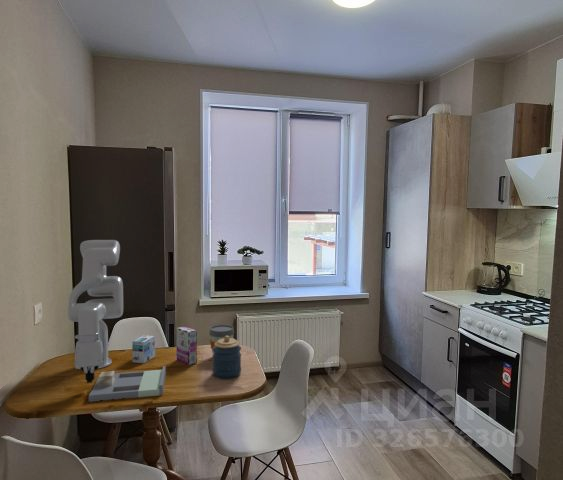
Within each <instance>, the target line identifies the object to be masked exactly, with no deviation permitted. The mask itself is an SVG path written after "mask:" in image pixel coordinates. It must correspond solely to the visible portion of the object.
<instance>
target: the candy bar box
mask: <svg viewBox="0 0 563 480" xmlns="http://www.w3.org/2000/svg"><path fill="white" fill-rule="evenodd" d="M197 330H198V329H197ZM197 330H196V329H194V328H190V327H187V326H180V327H176V361H178V362H180V363H182V364H185V365H187V366H192V365H195V364H198V349H197V348H198V331H197Z"/></svg>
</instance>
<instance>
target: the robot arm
mask: <svg viewBox="0 0 563 480" xmlns="http://www.w3.org/2000/svg"><path fill="white" fill-rule="evenodd" d="M79 250H80V254H81V256H82V268H81V269H82V270H81V272H82V273H81V280H80V282H79V283H78V284H76V285H75V286H74V287H73V289H72V291H71V292H70V294H69V298H68V305H67V306H68V307H67V317H68V320H69V321H70V322H72V323H74V322H77V323H78V334H75V336H74V339H76V340H77V341H76V343H75V344H76V345H75V351H74V368H75V369H76V370H81V371H82V372H83V373H84V374H85V375H84V376H85V381H86V384H89V383H90V384H91V383H93V381H94V380H95V372H96V370H98V369H104V368H105V367H108V366H110V365H111V364H112V362H113V361H112V358H110V357H109V334H108V333H109V332H108V331H109V330H108V325H107V324H106V322H105V321H104V320H107V319H117V318H120V317H122V316H123V314H124V283H123V279H122V278H121V277H120V276H117V275H110V276H109V275H108V276H107V267H111V266H117V265H118V263H119V260H120V252H121V245H120V242H119V241H118V240H116V239H90V240H88V239H87V240H84V241H82V242H81V243H80V246H79ZM84 292H87V294H88V295H89V296H90V297H113V298H95V299H94V298H93V299H89V300H88V301H85V303H84V302H83V303H80V302H79V303H77V301H78V299H79V297H80V296H81V295H83V293H84Z"/></svg>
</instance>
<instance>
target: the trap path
mask: <svg viewBox="0 0 563 480" xmlns="http://www.w3.org/2000/svg"><path fill="white" fill-rule="evenodd" d="M166 367H167V366H166V365H162V369H155V370H154V369H152V370H142V371H141V370H140V371H139V370H138V371H128V372H127V371H126V372H116V373H115V381H114V383H113V385H109V386H99V377H98V378H97V380H96V382H95V383H94V386H93V388H92V389H91V391H90V392H89V395H88V402H99V401H100V400H103V401H113V400H112V399H114V400H121V399H122V398H125V399H133V398H145V397H156V396H163V394H164V386H165V381H166V374H167V373H166V371H167V368H166ZM110 399H111V400H110ZM122 400H123V399H122Z"/></svg>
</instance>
